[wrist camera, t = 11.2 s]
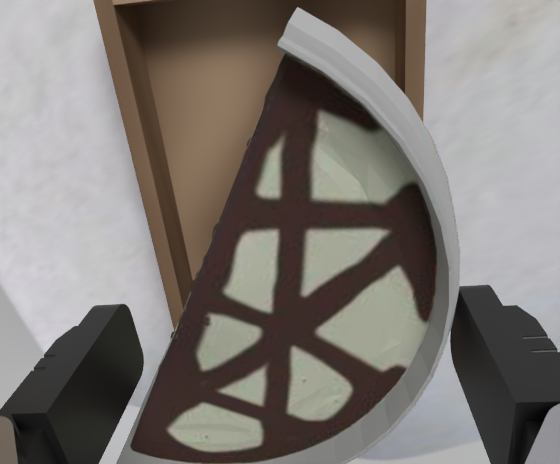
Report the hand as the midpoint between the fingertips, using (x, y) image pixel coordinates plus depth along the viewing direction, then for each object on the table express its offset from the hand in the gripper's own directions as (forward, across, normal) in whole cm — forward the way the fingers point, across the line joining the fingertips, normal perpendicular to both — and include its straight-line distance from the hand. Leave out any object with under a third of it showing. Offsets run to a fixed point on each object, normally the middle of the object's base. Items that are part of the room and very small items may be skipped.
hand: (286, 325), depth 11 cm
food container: (+8, 0, 0) cm, 9 cm away
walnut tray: (+9, +1, 0) cm, 9 cm away
